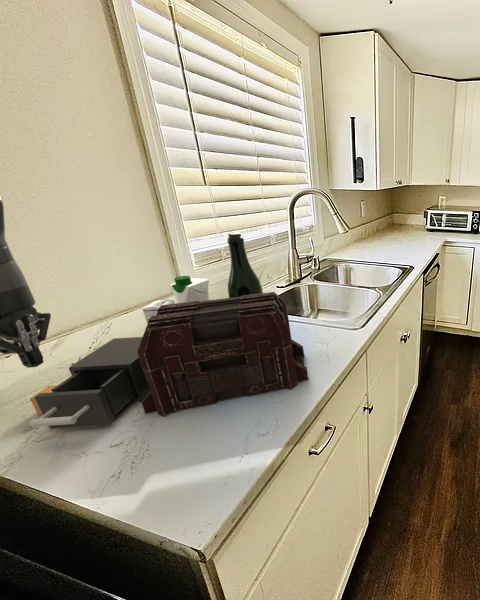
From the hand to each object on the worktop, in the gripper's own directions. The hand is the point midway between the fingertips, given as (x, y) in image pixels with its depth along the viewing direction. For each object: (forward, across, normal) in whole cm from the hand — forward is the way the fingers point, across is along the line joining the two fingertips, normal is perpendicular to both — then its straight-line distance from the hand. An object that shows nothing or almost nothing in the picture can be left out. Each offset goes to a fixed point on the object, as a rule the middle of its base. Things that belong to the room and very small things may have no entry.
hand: (35, 365), depth 67 cm
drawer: (+11, +3, +10) cm, 15 cm away
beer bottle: (+12, -34, +32) cm, 49 cm away
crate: (+12, -7, +35) cm, 38 cm away
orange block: (+12, -2, -2) cm, 13 cm away
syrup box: (+12, -28, +10) cm, 32 cm away
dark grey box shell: (+12, -9, +10) cm, 18 cm away
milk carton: (+12, -37, +15) cm, 42 cm away
